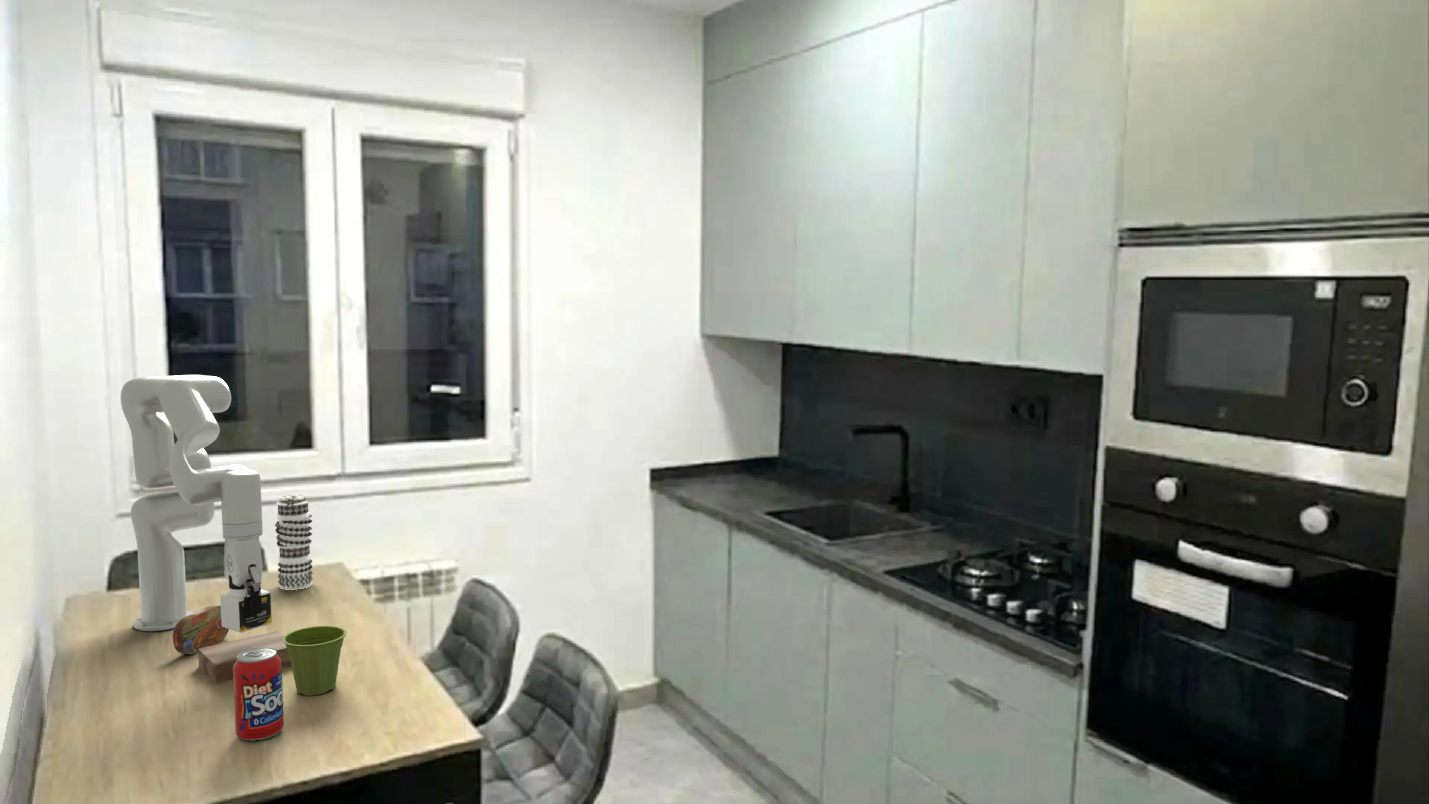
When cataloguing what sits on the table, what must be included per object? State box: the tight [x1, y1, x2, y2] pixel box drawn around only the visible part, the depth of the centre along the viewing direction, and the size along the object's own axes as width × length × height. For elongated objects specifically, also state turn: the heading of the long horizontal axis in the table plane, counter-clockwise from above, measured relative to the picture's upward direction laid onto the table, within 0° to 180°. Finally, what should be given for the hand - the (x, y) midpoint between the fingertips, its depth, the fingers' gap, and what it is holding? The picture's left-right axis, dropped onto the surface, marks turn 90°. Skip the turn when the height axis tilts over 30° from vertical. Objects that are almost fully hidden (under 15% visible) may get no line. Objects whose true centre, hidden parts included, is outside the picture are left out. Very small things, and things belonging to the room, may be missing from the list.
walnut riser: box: [197, 630, 292, 685], centre depth 198 cm, size 12×16×4 cm
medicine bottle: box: [219, 575, 272, 634], centre depth 196 cm, size 7×7×12 cm
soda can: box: [232, 648, 285, 742], centre depth 166 cm, size 8×8×15 cm
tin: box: [172, 605, 230, 656], centre depth 207 cm, size 15×3×8 cm, turn 168°
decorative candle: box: [274, 494, 314, 591], centre depth 252 cm, size 9×9×25 cm
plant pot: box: [282, 625, 348, 697], centre depth 186 cm, size 12×12×11 cm
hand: (246, 609), depth 196 cm, fingers closed on medicine bottle, 8 cm apart
